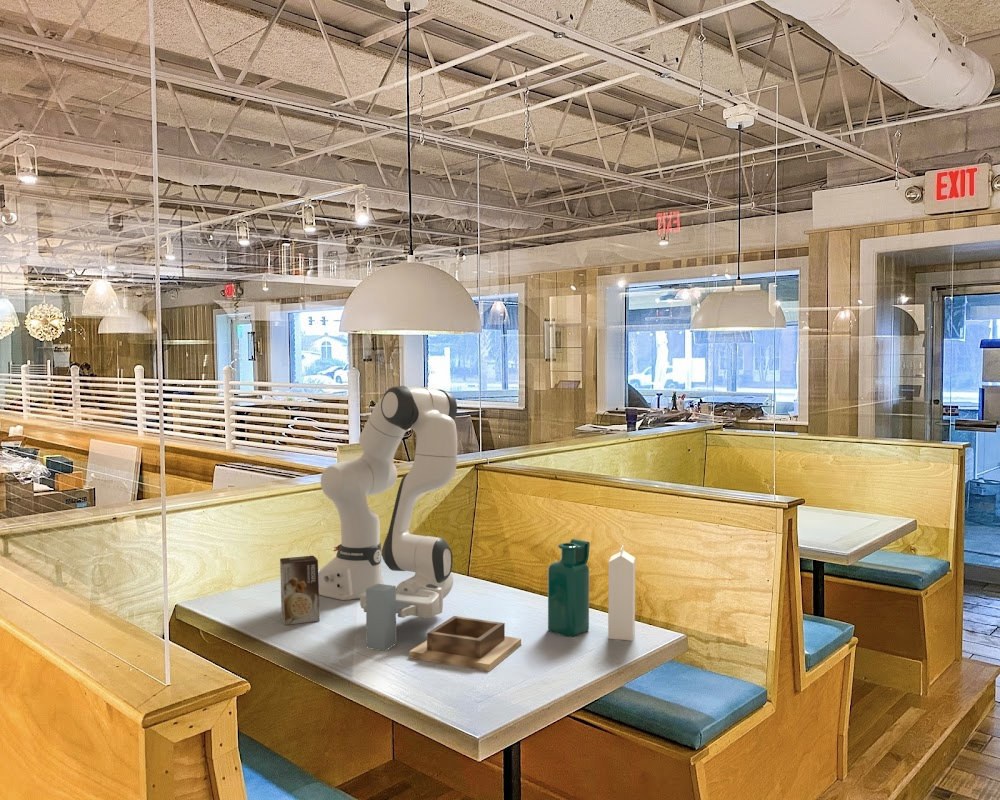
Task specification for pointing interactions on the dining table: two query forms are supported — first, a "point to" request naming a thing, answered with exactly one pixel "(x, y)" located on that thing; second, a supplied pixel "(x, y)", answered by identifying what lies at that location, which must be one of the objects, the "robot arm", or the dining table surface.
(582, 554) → the green tall squared bottle
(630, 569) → the milk
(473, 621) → the caddy
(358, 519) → the robot arm
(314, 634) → the dining table surface
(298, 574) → the coffee box
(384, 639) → the grey block
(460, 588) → the dining table surface
